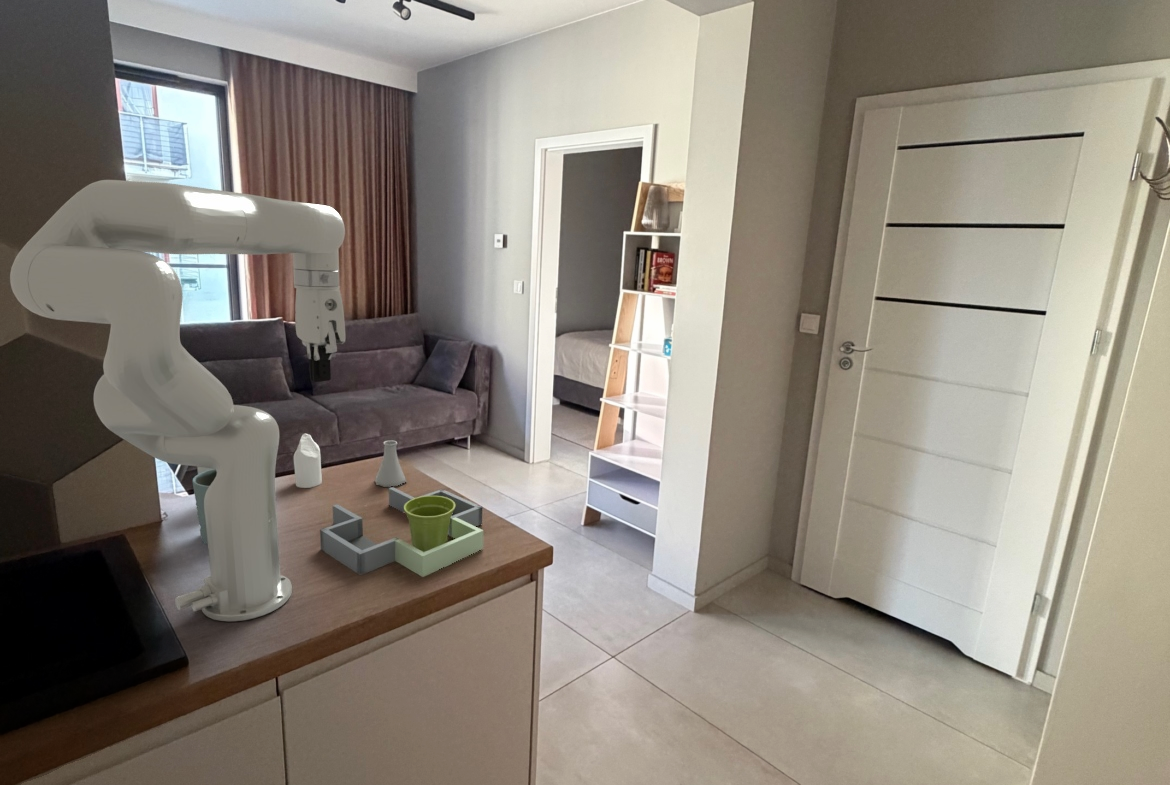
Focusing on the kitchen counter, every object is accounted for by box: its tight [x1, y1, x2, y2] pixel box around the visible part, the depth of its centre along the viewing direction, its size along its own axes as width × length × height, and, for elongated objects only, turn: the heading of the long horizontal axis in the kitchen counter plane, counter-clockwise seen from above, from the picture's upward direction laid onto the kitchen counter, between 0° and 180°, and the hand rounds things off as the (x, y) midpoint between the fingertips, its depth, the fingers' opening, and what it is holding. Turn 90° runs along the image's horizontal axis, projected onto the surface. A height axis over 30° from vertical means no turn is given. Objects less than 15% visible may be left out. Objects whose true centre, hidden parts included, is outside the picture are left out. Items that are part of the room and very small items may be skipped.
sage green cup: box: [192, 469, 217, 546], centre depth 116 cm, size 10×10×12 cm
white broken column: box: [293, 433, 323, 489], centre depth 142 cm, size 6×12×6 cm
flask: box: [374, 440, 407, 488], centre depth 146 cm, size 7×7×10 cm
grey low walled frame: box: [319, 486, 484, 578], centre depth 120 cm, size 28×29×4 cm
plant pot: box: [404, 495, 455, 552], centre depth 116 cm, size 9×9×9 cm
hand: (320, 380), depth 114 cm, fingers closed
